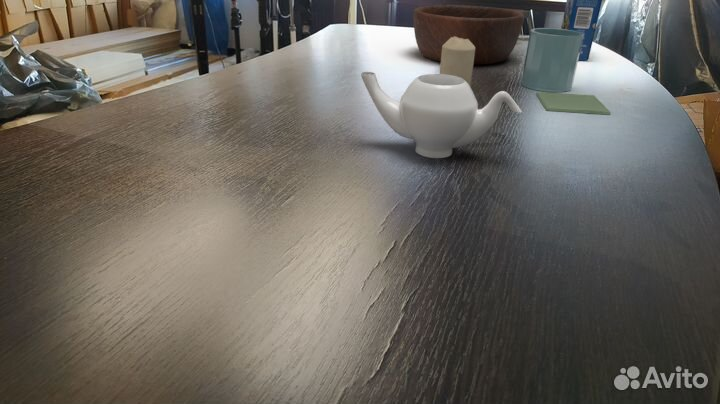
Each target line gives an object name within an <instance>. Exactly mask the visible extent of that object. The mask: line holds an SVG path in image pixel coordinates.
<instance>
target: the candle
mask: <svg viewBox="0 0 720 404" xmlns="http://www.w3.org/2000/svg"><path fill="white" fill-rule="evenodd" d="M474 55H475V46H474V45H473V44H472V43H471V42H470V41H469V39H463V38H458V37H456V36H455V37H451V38H450V39H449V40H448V41H447V42H446V43H445V44H444V45H443V46H442V55H441V61H440V65H439V74H446V75H453V76H457V77H460V78H462V79H464V80H465V81H466V82H467V83H468V84H469V85H470V87H471V88H472V77H473V71H474V70H473V69H474V65H473V63H474Z"/></svg>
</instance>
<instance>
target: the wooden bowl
mask: <svg viewBox="0 0 720 404" xmlns="http://www.w3.org/2000/svg"><path fill="white" fill-rule="evenodd" d="M412 17H413V30H414V32H413V33H414V38H415V41H416V45H417V48H418V50H419V52H420V54H421V55H422V56H423V57H425V58H427V59H429V60H432V61H437V62H441V55H442V46H443V45H444V44H445V43H446V42H447V41H448V40H449V39H450V38H451V37H455V36H456V37H458V38H463V39H469V41H470V42H471V43H472V44H473V45H474V46H475V55H474V63H473V66H475V65H476V66H477V65H478V66H479V65H493V64H498V63H501V62H503V61H505V60H506V59H508V58H509V56H510V55H511V53H512V52H513V50H514V49H515V46H516V45H517V43H518V40H519V37H520V35H521V31H522V28H523V24H524V21H525V14H523V13H522V12H520V11H517V10H512V9H507V8H502V7H490V6H480V5H464V4H463V5H462V4H461V5H460V4H439V5H438V4H437V5H425V6H419V7H416V8H415V9H414V10H413V16H412Z"/></svg>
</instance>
